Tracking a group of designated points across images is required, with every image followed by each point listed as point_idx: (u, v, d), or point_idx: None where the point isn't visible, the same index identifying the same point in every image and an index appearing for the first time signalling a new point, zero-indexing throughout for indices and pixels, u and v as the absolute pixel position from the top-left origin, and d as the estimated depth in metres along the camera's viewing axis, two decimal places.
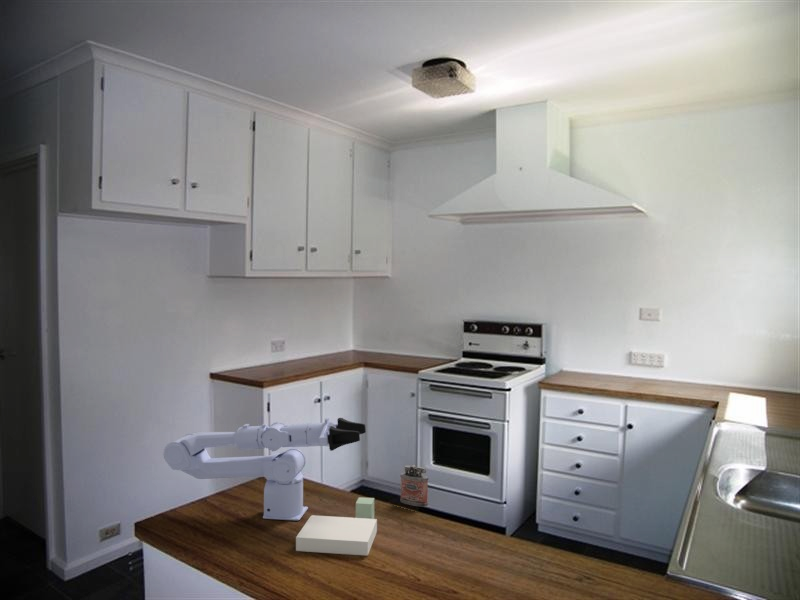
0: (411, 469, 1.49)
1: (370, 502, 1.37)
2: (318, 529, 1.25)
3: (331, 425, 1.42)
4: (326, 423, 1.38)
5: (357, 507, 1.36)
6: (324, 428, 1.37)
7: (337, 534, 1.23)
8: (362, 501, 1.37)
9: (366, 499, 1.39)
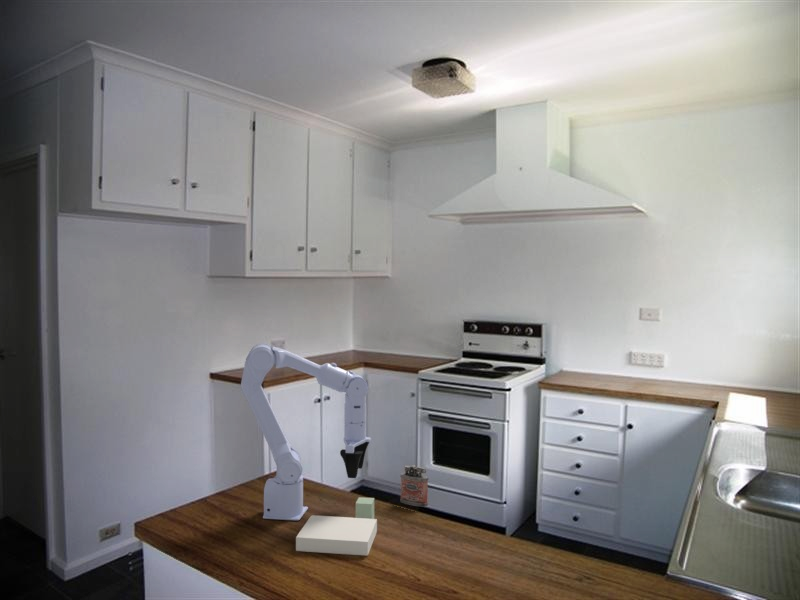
0: (411, 469, 1.49)
1: (370, 502, 1.37)
2: (318, 529, 1.25)
3: None
4: (365, 441, 1.43)
5: (357, 507, 1.36)
6: (361, 442, 1.42)
7: (337, 534, 1.23)
8: (362, 501, 1.37)
9: (366, 499, 1.39)
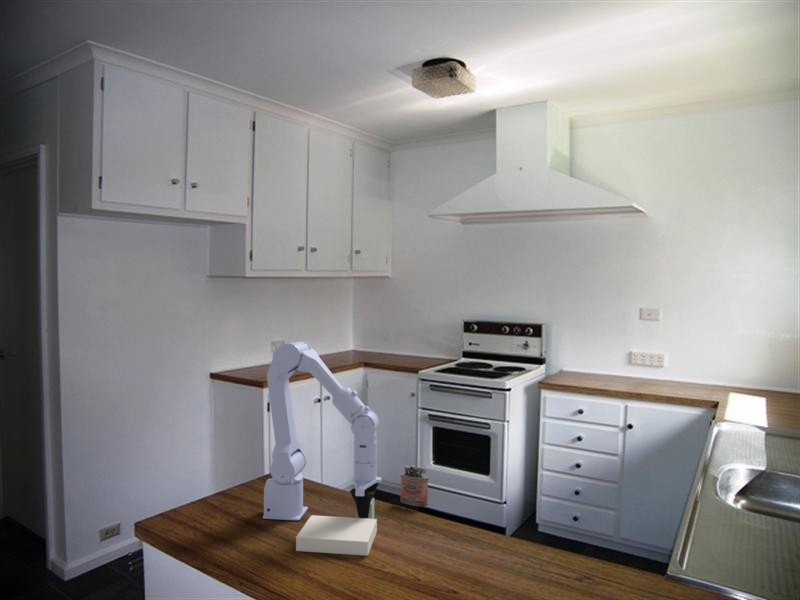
0: (411, 469, 1.49)
1: None
2: (318, 529, 1.25)
3: None
4: (376, 481, 1.36)
5: None
6: (371, 484, 1.34)
7: (337, 534, 1.23)
8: None
9: None
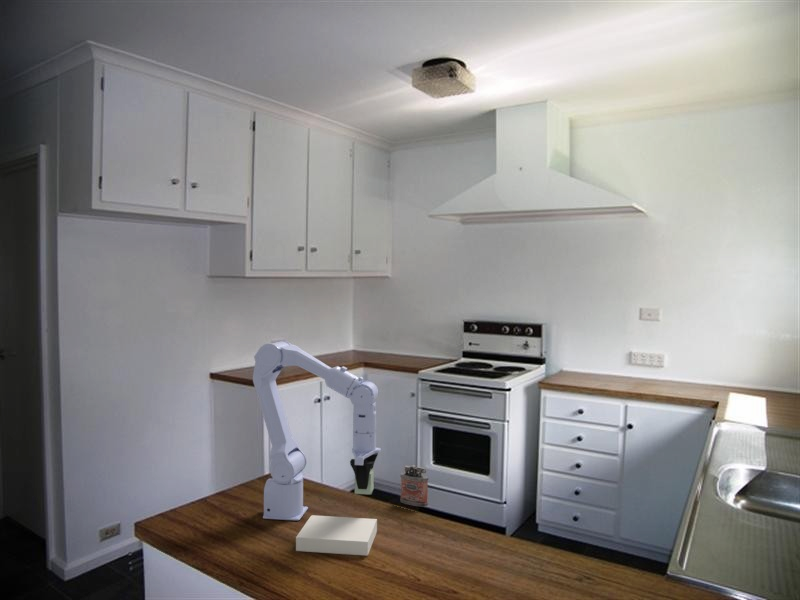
0: (411, 469, 1.49)
1: None
2: (318, 529, 1.25)
3: None
4: (375, 452, 1.36)
5: None
6: (370, 453, 1.34)
7: (337, 534, 1.23)
8: None
9: None
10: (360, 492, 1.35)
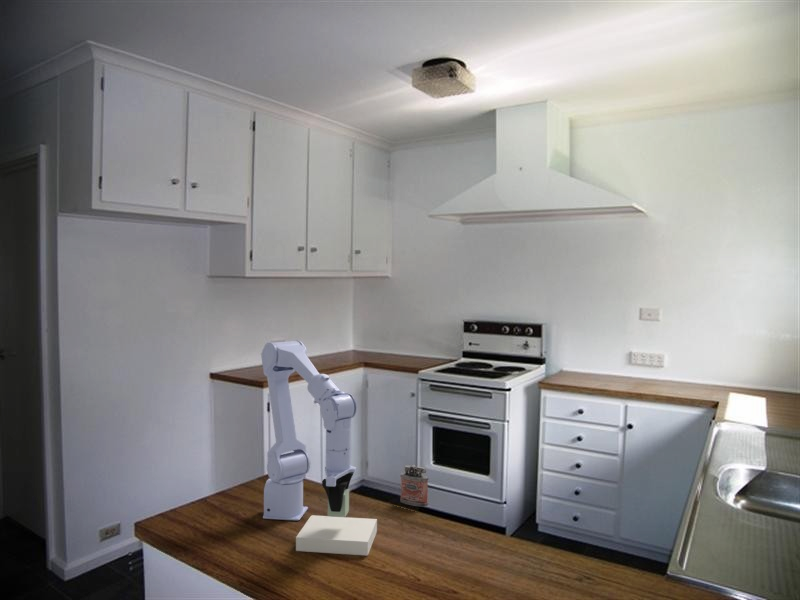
0: (411, 469, 1.49)
1: (344, 493, 1.25)
2: (318, 529, 1.25)
3: None
4: (349, 471, 1.25)
5: None
6: (344, 473, 1.23)
7: (337, 534, 1.23)
8: None
9: None
10: (333, 515, 1.24)
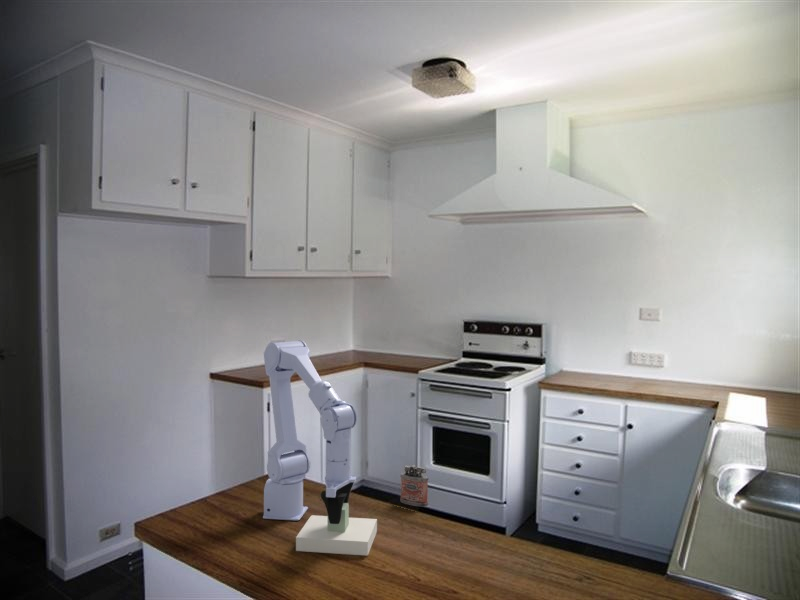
0: (411, 469, 1.49)
1: (343, 508, 1.25)
2: (318, 529, 1.25)
3: None
4: (349, 481, 1.25)
5: None
6: (344, 484, 1.23)
7: (337, 534, 1.23)
8: None
9: None
10: (333, 529, 1.24)
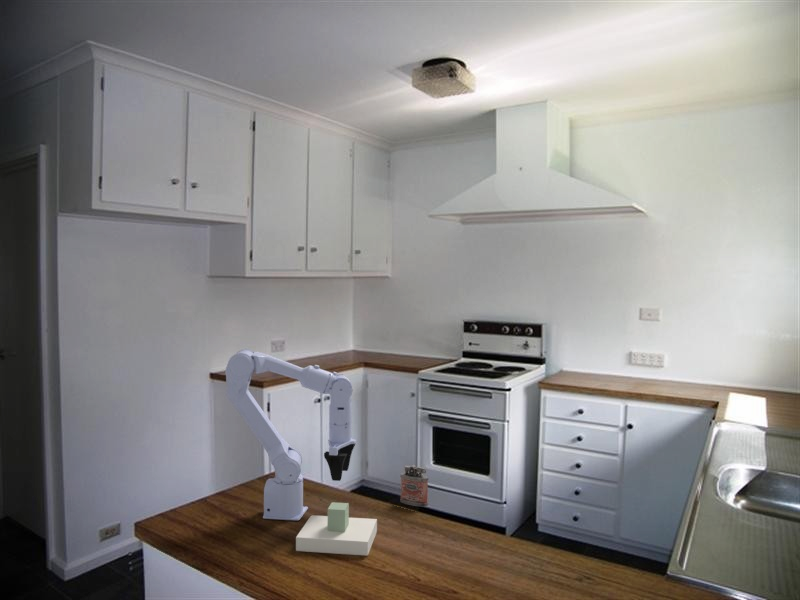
0: (411, 469, 1.49)
1: (343, 508, 1.25)
2: (318, 529, 1.25)
3: None
4: (350, 443, 1.41)
5: (329, 513, 1.24)
6: (345, 444, 1.40)
7: (337, 534, 1.23)
8: (335, 507, 1.25)
9: (340, 504, 1.27)
10: (333, 529, 1.24)
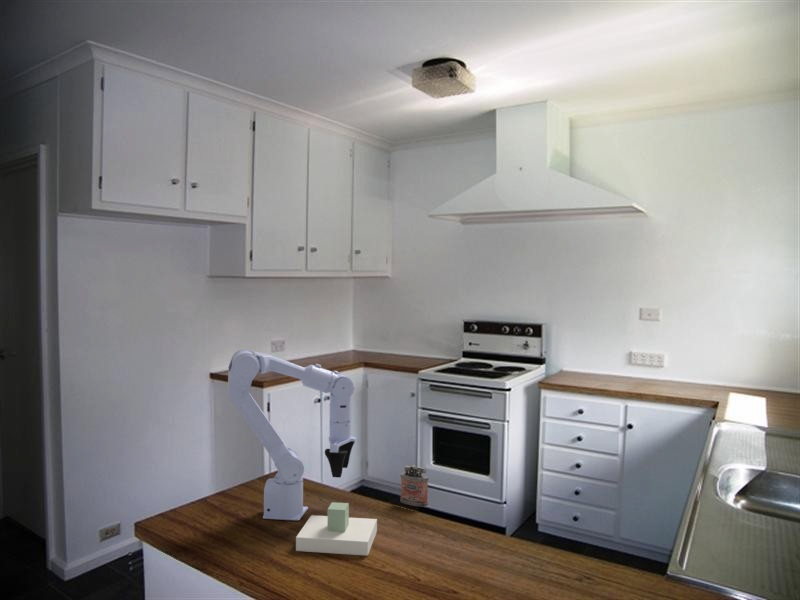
0: (411, 469, 1.49)
1: (343, 508, 1.25)
2: (318, 529, 1.25)
3: None
4: (350, 440, 1.44)
5: (329, 513, 1.24)
6: (345, 442, 1.42)
7: (337, 534, 1.23)
8: (335, 507, 1.25)
9: (340, 504, 1.27)
10: (333, 529, 1.24)
